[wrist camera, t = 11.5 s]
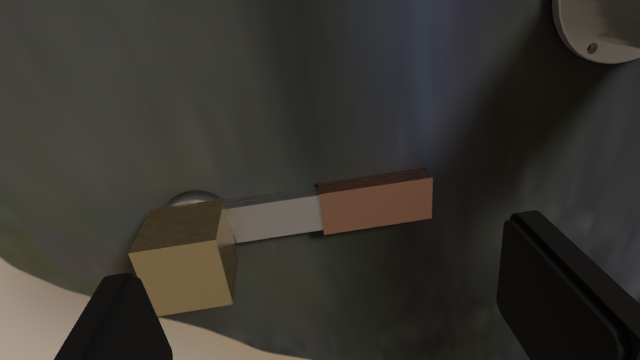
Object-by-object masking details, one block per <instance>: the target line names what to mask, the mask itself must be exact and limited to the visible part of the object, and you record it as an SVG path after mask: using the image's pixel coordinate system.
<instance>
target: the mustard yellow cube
mask: <svg viewBox="0 0 640 360" xmlns="http://www.w3.org/2000/svg"><path fill="white" fill-rule="evenodd" d="M128 254H129V257H130V259H131V262H132V264H133V267H134V269H135V272H136V275H137V277H138V278H140V279H141V281H142V283H143V285H144V287H145V290H146V292H147V294H148V297H149V299H150V301H151V303H152V306H153V308H154V310H155V313H156V315H157V317H158V316H164V315H170V314H176V313H182V312H188V311H194V310H201V309H207V308H213V307H219V306H225V305H231V304H233V299H234V290H235V280H236V271H237V261H238V254H237V250H236V246H235V242H234V238H233V234H232V230H231V226H230V221H229V217H228V213H227V209H226V205H225V201H224V199H217V200H210V201H204V202H197V203H190V204H183V205H176V206H170V207H163V208H156V209H151V210H150V212H149V214H148V216H147V217H146V219H145V221H144V223H143V225H142V227H141V229H140V231H139V233H138V235H137V237H136V239H135V241H134V243H133V245H132V247H131V249H130V251H129V253H128Z"/></svg>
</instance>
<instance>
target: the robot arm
mask: <svg viewBox="0 0 640 360" xmlns="http://www.w3.org/2000/svg"><path fill="white" fill-rule="evenodd" d="M552 13H553V19H554V24H555V27H556V29H557V32H558V34H559V37H560V38H561V40H562V41H563V42H564V44H565V45H566V47H567V48H569V49H570V50H571V51H572V52H573V53H574V54H576V55H578V56H580V57H582V58H584V59H586V60H590V61H594V62H598V63H606V64H616V63H623V62H628V61H631V60H634V59H637V58H640V0H552ZM497 305H498V308H499V311H500V313H501V315H502V316H503V318H504V319H505V321H506V322H507V324H508V325H509V327H510V329H511V330H512V332H513V333H514V335H515V336H516V338H517V339H518V341H519V343H520V344H521V346H522V347H523V349H524V350H525V352H526V353H527V355H528V357H529V358H530V360H640V304H639V303H638V302H637V301H636V300H635V299H633V298H632V297H631V296H630V295H629V294H628V293H627V292H626V291H625V290H624V289H623V288H622V287H620V286H619V285H618V284H617V283H616V282H615V281H614V280H613V279H612V278H611V277H610V276H609V275H607V274H606V273H605V272H604V271H603V270H602V269H601V268H600V267H599V266H598V265H597V264H596V263H594V262H593V261H592V260H591V259H590V258H589V257H588V256H587V255H586V254H585V253H584V252H582V251H581V250H580V249H579V248H578V247H577V246H576V245H575V244H574V243H573V242H572V241H571V240H569V239H568V238H567V237H566V236H565V235H564V234H563V233H562V232H561V231H560V230H559V229H558V228H556V227H555V226H554V225H553V224H552V223H551V222H550V221H549V220H548V219H547V218H546V217H545V216H543V215H542V214H541V213H540V212H539V211H535V210H534V211H527V212H521V213H514V214H512V215H511V217H510V220H507V221H505V223H504V229H503V239H502V249H501V259H500V269H499V279H498V289H497ZM54 360H173V355H172V349H171V347H170V345H169V342H168V340H167V338H166V335H165V333H164V331H163V329H162V326H161V324H160V322H159V319H158V317H157V315H156V313H155V310H154V308H153V306H152V303H151V301H150V299H149V297H148V294H147V292H146V290H145V287H144V285H143V283H142V281H141V279H140V278H138V277H135V278H134V276H133V275H132V274H131V273H123V274H117V275H110V276H106V277H104V278H103V279H102V281H101V282H100V284H99V286H98V287H97V289H96V291H95V292H94V294H93V296H92V297H91V299H90V301H89V302H88V304H87V306H86V307H85V309H84V311H83V312H82V314H81V316H80V317H79V319H78V321H77V322H76V324H75V325H74V327H73V329H72V331H71V332H70V334H69V335H68V337H67V339H66V340H65V342H64V344H63V345H62V347H61V349H60V350H59V352H58V354H57V355H56V357H55V359H54Z"/></svg>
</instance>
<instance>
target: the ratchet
mask: <svg viewBox="0 0 640 360" xmlns="http://www.w3.org/2000/svg"><path fill="white" fill-rule="evenodd" d="M432 194H433V177H432V176H431V175H430V174H429V172H428V171H427V170H426V169H425V168H422V169H415V170H408V171H402V172H395V173H388V174H381V175H374V176H367V177H361V178H354V179H347V180H340V181H333V182H326V183H320V184H317V187H313V188H306V189H299V190H292V191H285V192H279V193H272V194H265V195H258V196H251V197H245V198H238V199H231V200H224V201H225V205H226V209H227V213H228V217H229V221H230V226H231V230H232V234H233V238H234V242H235V243H241V242H247V241H254V240H260V239H267V238H273V237H280V236H286V235H293V234H299V233H306V232H312V231H319V230H323V233H324V235H327V234H334V233H340V232H347V231H353V230H360V229H366V228H373V227H379V226H386V225H392V224H399V223H405V222H411V221H418V220H424V219H431V218H432ZM217 199H221V198H220V197H218V196H216V195H215V194H212V193H209V192H205V191H188V192H184V193H181V194H179V195H177V196H175V197H174V198H172V199H171V200H170V201H169V202H168V203H167V205H166V206H165V207H170V206H176V205H183V204H190V203H197V202H204V201H210V200H217Z"/></svg>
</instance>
